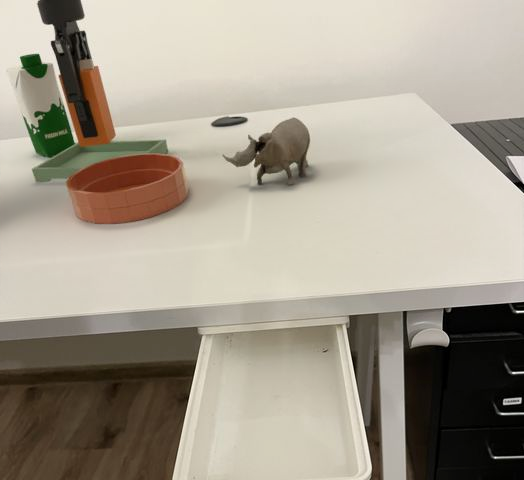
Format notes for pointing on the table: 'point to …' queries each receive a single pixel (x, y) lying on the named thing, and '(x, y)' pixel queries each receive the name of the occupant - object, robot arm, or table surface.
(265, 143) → the rhinoceros figurine
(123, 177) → the bowl
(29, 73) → the milk carton
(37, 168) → the tray
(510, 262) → the table surface
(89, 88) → the carton
